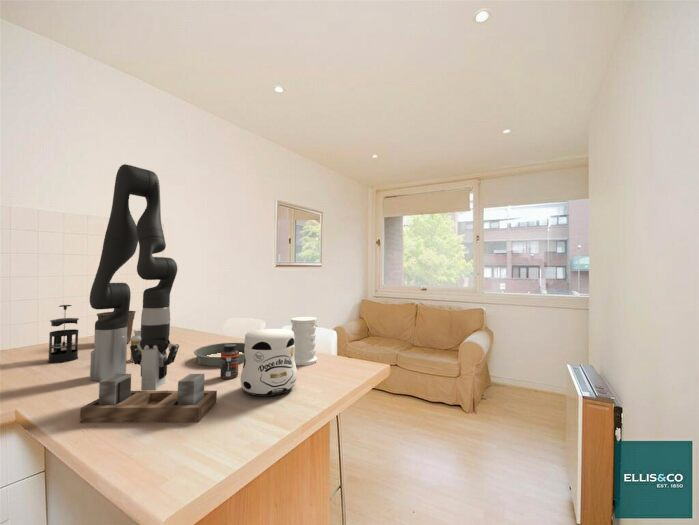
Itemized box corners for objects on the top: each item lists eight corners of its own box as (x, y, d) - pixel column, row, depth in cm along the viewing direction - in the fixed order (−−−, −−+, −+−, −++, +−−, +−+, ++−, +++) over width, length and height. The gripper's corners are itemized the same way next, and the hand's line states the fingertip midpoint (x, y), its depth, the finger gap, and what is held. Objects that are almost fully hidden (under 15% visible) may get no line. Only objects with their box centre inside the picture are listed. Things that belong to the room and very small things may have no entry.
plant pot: (86, 346, 152) (87, 314, 152) (116, 339, 168) (117, 310, 168) (115, 348, 149) (116, 315, 149) (142, 341, 165) (143, 311, 165)
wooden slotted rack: (79, 422, 76) (81, 384, 76) (112, 403, 87) (114, 370, 87) (198, 422, 77) (199, 384, 77) (216, 403, 88) (217, 370, 88)
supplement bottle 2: (232, 380, 107) (232, 347, 107) (216, 379, 108) (217, 346, 108) (241, 374, 112) (242, 343, 113) (226, 373, 114) (227, 342, 114)
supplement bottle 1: (129, 359, 130) (130, 329, 131) (147, 356, 135) (148, 327, 135) (131, 363, 125) (132, 331, 126) (150, 360, 130) (151, 329, 130)
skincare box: (151, 383, 97) (153, 345, 97) (165, 383, 97) (167, 345, 98) (140, 390, 91) (141, 350, 91) (155, 390, 91) (156, 350, 91)
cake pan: (186, 370, 118) (186, 358, 118) (201, 353, 142) (201, 343, 142) (253, 366, 124) (253, 354, 124) (256, 350, 148) (257, 341, 148)
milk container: (277, 404, 87) (278, 340, 88) (228, 395, 93) (229, 336, 94) (306, 384, 104) (306, 330, 104) (263, 377, 110) (263, 326, 110)
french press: (83, 358, 131) (85, 304, 132) (55, 364, 123) (57, 306, 123) (69, 355, 136) (71, 303, 137) (41, 360, 128) (43, 305, 128)
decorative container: (313, 356, 137) (313, 316, 138) (320, 364, 126) (320, 320, 127) (287, 359, 133) (287, 317, 134) (292, 366, 122) (292, 321, 123)
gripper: (123, 323, 91) (121, 382, 90) (172, 324, 91) (170, 383, 91) (140, 319, 98) (138, 373, 98) (185, 320, 98) (183, 374, 98)
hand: (153, 377), depth 94 cm, fingers closed on skincare box, 4 cm apart
